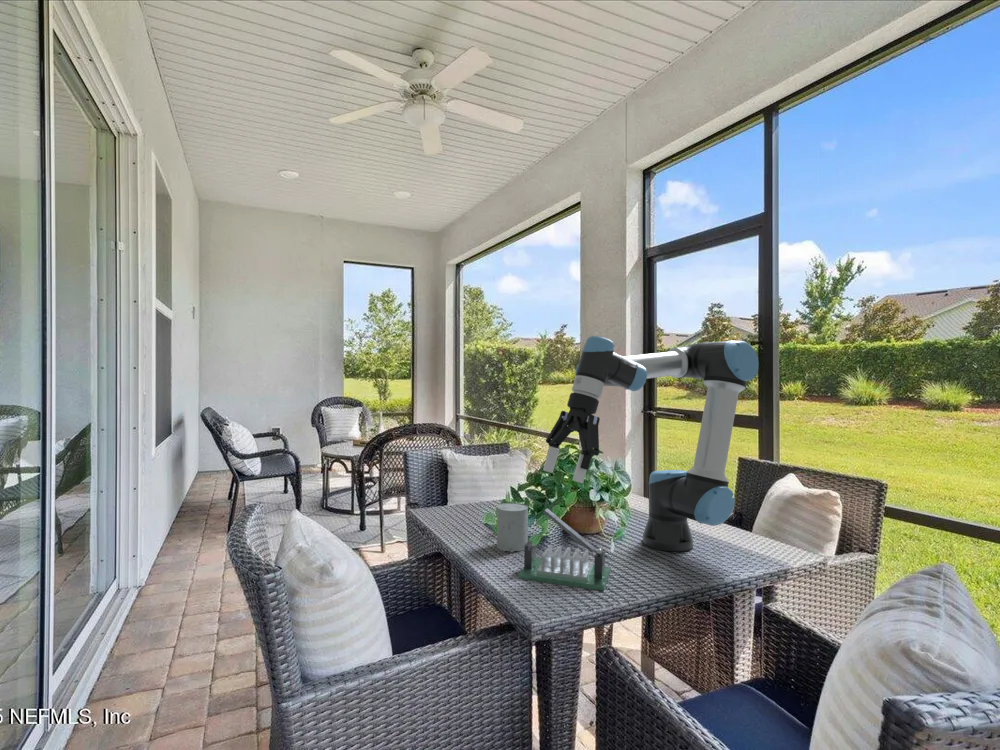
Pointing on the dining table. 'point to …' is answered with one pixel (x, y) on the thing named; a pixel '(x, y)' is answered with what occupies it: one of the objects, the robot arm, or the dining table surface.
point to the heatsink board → (565, 568)
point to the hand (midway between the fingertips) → (561, 476)
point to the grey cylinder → (512, 526)
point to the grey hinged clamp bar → (572, 532)
